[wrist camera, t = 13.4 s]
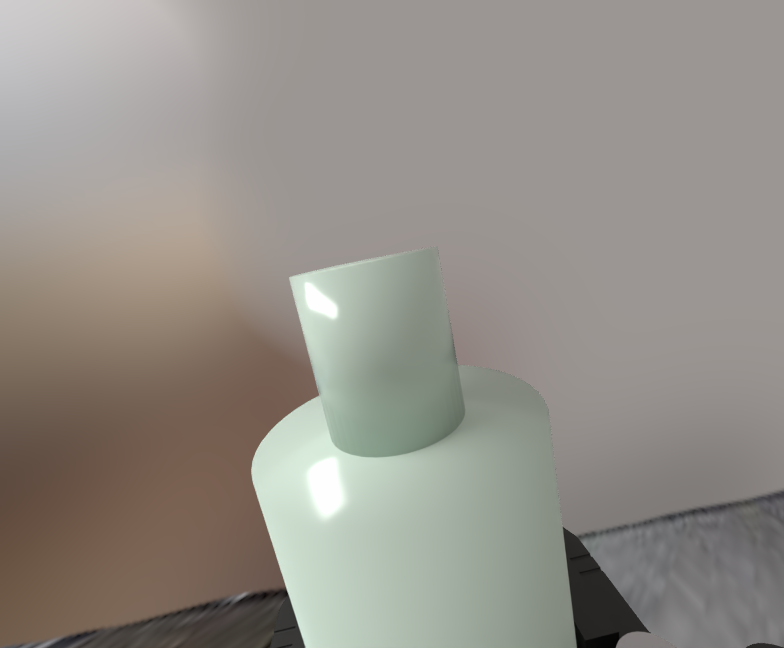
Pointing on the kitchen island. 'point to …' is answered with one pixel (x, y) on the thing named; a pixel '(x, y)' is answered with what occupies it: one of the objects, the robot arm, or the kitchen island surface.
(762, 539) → the kitchen island surface
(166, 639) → the kitchen island surface
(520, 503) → the celadon bottle
